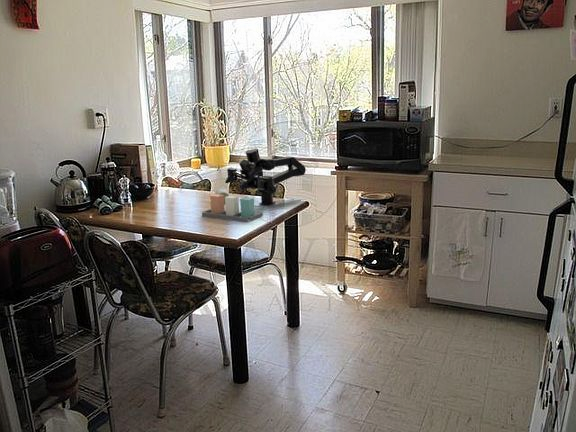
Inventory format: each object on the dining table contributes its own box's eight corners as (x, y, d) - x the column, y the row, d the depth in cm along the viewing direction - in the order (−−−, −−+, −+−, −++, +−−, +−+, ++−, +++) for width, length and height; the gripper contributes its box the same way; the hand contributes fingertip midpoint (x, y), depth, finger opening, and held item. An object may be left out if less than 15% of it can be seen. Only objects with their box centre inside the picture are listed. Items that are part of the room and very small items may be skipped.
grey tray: (217, 210, 253) (217, 205, 252) (267, 217, 238) (266, 211, 237) (199, 217, 242) (198, 212, 241) (249, 224, 226) (249, 218, 226)
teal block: (246, 215, 238) (245, 197, 235) (254, 216, 235) (253, 198, 233) (241, 217, 234) (240, 199, 232) (249, 218, 232) (248, 200, 230)
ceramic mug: (217, 206, 264) (216, 191, 262) (215, 202, 271) (214, 188, 269) (236, 204, 266) (236, 190, 264) (234, 201, 274) (233, 187, 272)
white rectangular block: (231, 213, 242) (230, 195, 240) (239, 214, 240) (238, 196, 237) (226, 215, 239) (224, 197, 237) (234, 216, 237) (233, 198, 234)
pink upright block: (216, 211, 247) (215, 194, 245) (224, 212, 244) (223, 194, 242) (211, 213, 244) (210, 195, 241) (219, 214, 241) (218, 196, 239)
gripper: (236, 153, 253) (216, 165, 242) (266, 161, 244) (247, 174, 233) (238, 172, 259) (218, 185, 248) (267, 182, 250) (248, 195, 239)
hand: (233, 184), depth 242 cm, fingers open, 9 cm apart
